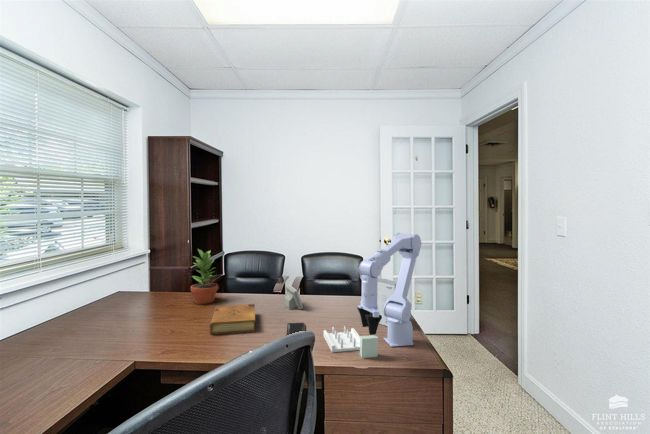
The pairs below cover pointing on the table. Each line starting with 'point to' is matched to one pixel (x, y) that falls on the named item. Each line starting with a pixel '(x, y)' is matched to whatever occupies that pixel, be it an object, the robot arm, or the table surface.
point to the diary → (233, 319)
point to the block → (368, 346)
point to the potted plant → (204, 280)
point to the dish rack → (342, 340)
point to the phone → (295, 327)
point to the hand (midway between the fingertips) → (368, 330)
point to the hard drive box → (384, 296)
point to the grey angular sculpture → (292, 298)
